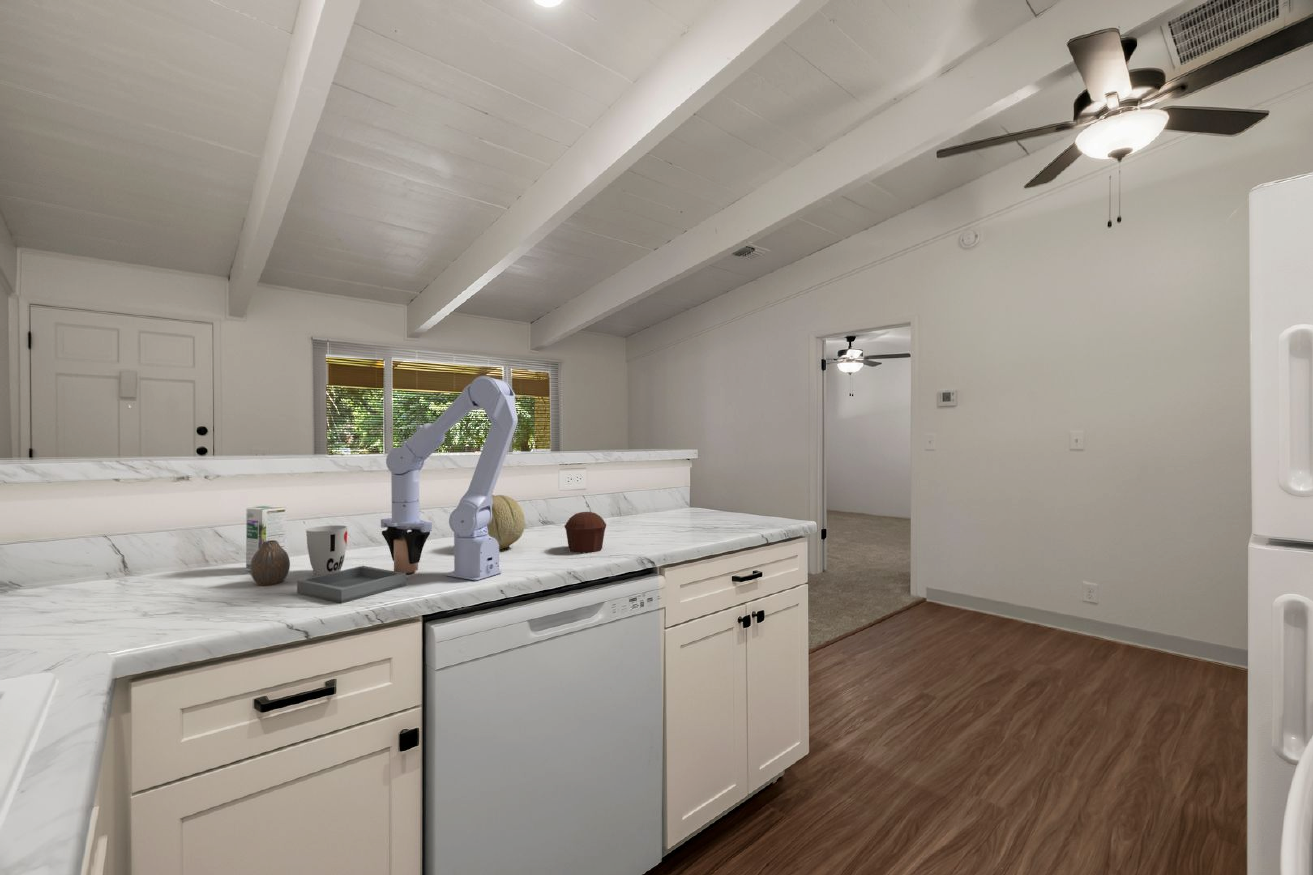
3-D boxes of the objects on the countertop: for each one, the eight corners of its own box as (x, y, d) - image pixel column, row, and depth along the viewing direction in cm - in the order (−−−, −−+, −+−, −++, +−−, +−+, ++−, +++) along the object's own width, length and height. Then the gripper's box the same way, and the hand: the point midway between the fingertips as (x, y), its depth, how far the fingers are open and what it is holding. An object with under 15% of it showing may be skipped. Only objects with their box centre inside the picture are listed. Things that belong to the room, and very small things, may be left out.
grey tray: (406, 585, 118) (406, 573, 118) (341, 603, 106) (341, 589, 106) (362, 577, 124) (362, 565, 124) (297, 593, 112) (296, 580, 112)
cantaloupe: (517, 554, 148) (517, 496, 148) (461, 554, 148) (461, 496, 148) (530, 543, 163) (530, 490, 162) (479, 543, 163) (479, 490, 163)
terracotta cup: (423, 569, 129) (422, 538, 129) (404, 573, 125) (403, 541, 125) (408, 566, 132) (407, 536, 132) (388, 571, 127) (388, 539, 127)
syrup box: (244, 571, 130) (244, 507, 130) (270, 565, 135) (270, 504, 135) (261, 573, 128) (261, 508, 127) (287, 567, 133) (286, 505, 133)
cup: (329, 577, 124) (329, 531, 124) (297, 575, 126) (297, 530, 125) (356, 569, 132) (355, 525, 132) (325, 567, 134) (325, 524, 133)
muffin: (577, 544, 161) (577, 508, 161) (613, 547, 158) (613, 510, 157) (556, 552, 150) (556, 514, 150) (594, 555, 146) (594, 516, 146)
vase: (297, 580, 122) (297, 539, 122) (263, 588, 115) (263, 545, 115) (277, 577, 125) (276, 537, 124) (242, 584, 118) (242, 542, 118)
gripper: (368, 501, 128) (368, 561, 128) (412, 505, 121) (413, 568, 121) (395, 498, 134) (396, 555, 134) (439, 501, 127) (439, 562, 128)
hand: (406, 561), depth 128 cm, fingers closed on terracotta cup, 5 cm apart
